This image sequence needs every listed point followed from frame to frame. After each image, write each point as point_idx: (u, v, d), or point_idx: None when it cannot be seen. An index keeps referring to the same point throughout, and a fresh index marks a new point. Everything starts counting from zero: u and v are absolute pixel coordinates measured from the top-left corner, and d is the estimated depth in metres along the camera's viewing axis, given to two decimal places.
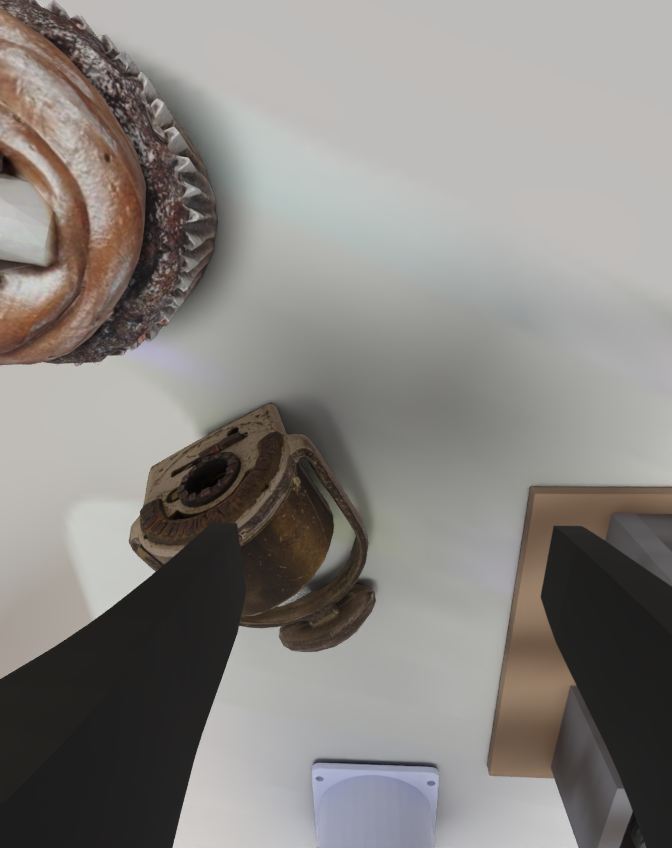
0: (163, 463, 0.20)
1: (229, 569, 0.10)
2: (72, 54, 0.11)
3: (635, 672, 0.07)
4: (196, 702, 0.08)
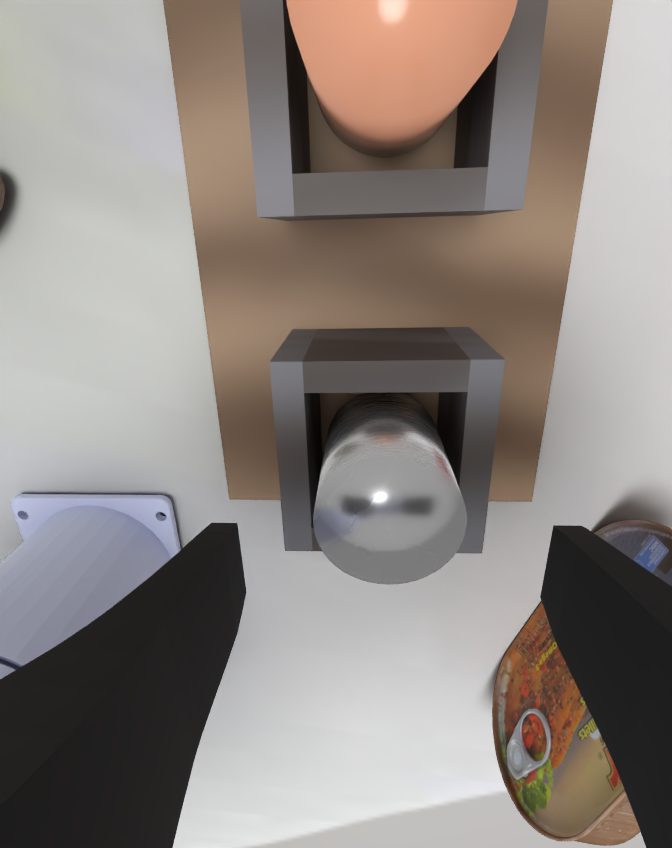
0: None
1: (229, 569, 0.10)
2: None
3: (635, 672, 0.07)
4: (196, 702, 0.08)
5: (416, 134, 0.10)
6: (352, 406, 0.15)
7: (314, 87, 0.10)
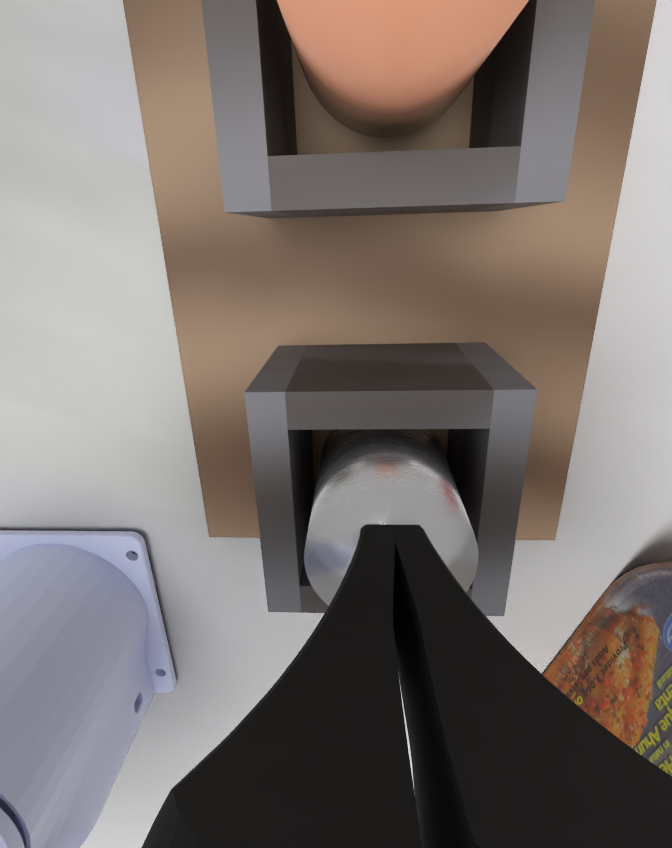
0: None
1: (394, 571, 0.10)
2: None
3: (414, 666, 0.08)
4: None
5: (429, 99, 0.08)
6: None
7: (291, 32, 0.07)
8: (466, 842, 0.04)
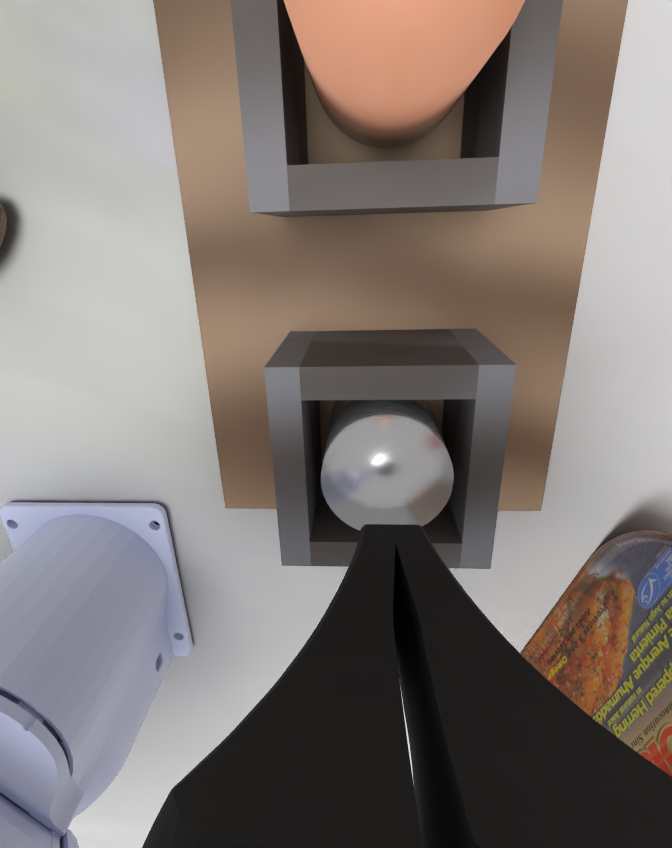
0: None
1: (394, 571, 0.10)
2: None
3: (414, 667, 0.08)
4: None
5: (421, 120, 0.10)
6: None
7: (309, 68, 0.09)
8: (466, 842, 0.04)
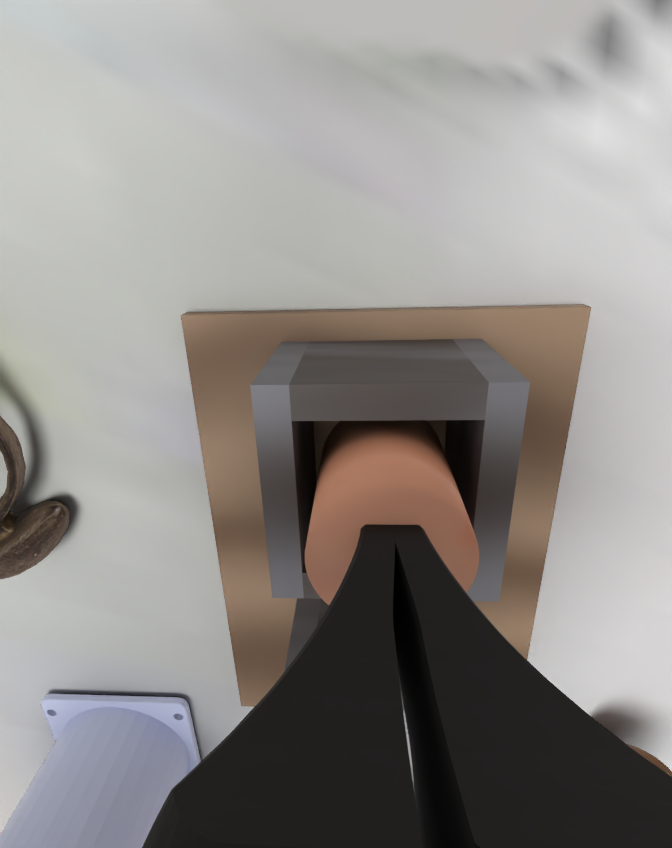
0: None
1: (394, 571, 0.10)
2: None
3: (414, 666, 0.08)
4: None
5: None
6: None
7: None
8: (466, 842, 0.04)
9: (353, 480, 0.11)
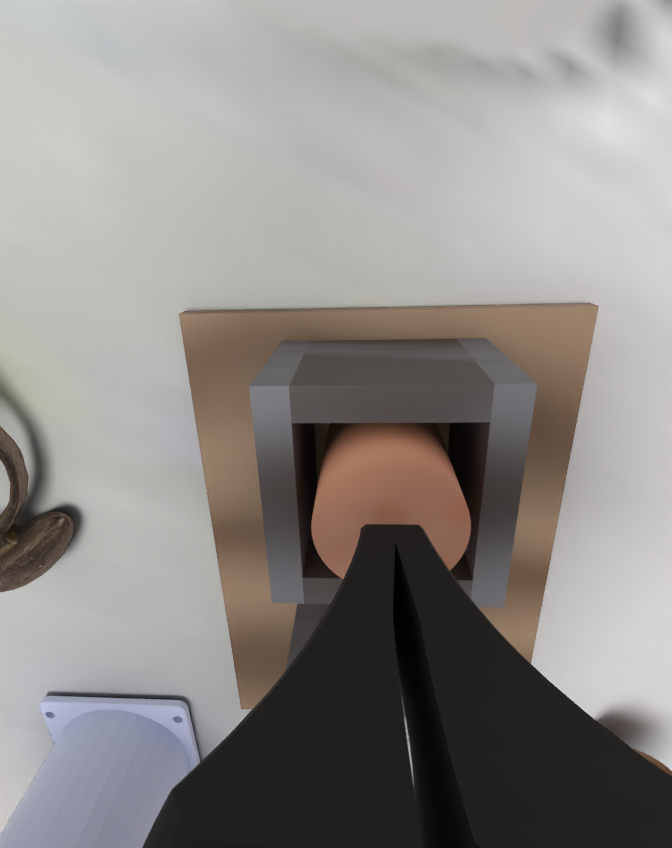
0: None
1: (394, 571, 0.10)
2: None
3: (414, 666, 0.08)
4: None
5: None
6: None
7: None
8: (466, 842, 0.04)
9: (355, 456, 0.12)
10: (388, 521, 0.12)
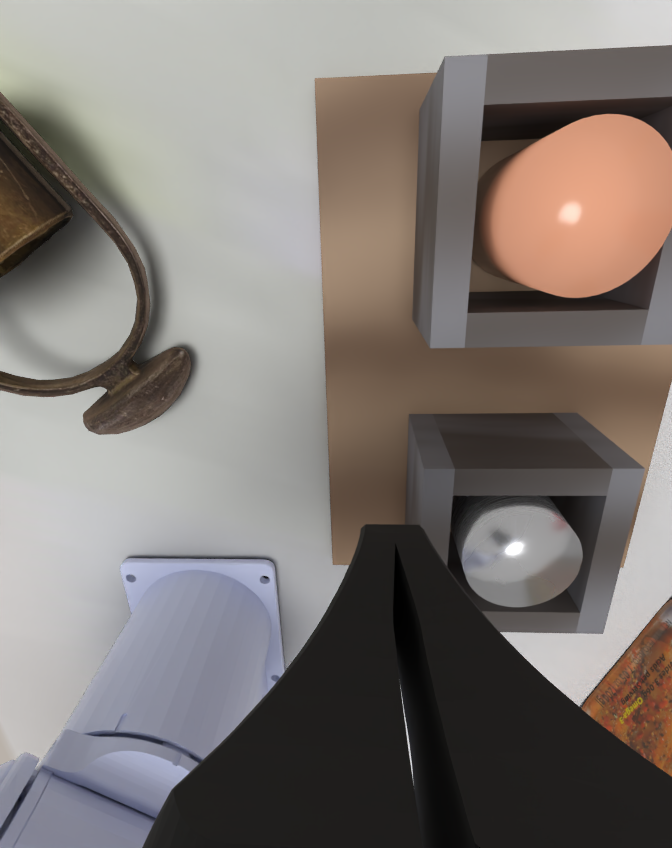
0: None
1: (394, 571, 0.10)
2: None
3: (414, 666, 0.08)
4: None
5: None
6: None
7: (494, 257, 0.13)
8: (466, 842, 0.04)
9: (556, 131, 0.11)
10: (590, 200, 0.11)
